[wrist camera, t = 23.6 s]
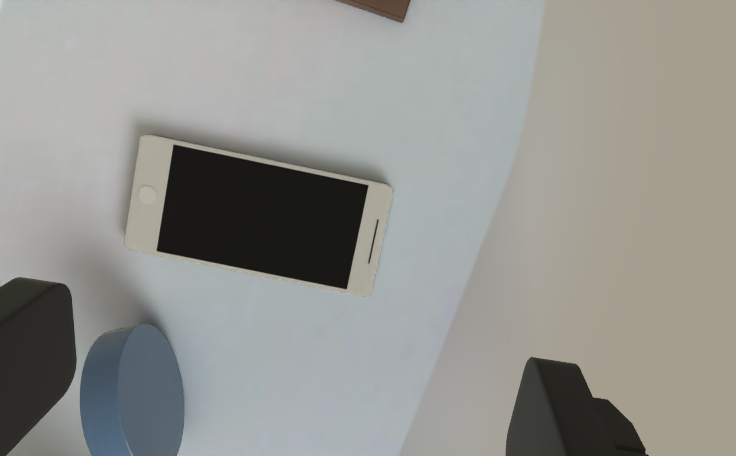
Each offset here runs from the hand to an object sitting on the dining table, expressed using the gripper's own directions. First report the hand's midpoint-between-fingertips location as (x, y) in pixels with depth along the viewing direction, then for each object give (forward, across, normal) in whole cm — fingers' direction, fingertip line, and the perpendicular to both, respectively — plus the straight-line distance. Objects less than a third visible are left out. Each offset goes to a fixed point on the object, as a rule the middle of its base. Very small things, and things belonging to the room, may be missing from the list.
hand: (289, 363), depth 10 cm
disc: (+17, +12, +16) cm, 26 cm away
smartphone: (+24, +7, +7) cm, 26 cm away
